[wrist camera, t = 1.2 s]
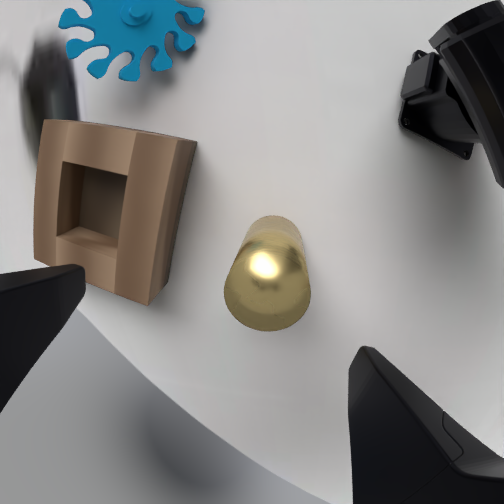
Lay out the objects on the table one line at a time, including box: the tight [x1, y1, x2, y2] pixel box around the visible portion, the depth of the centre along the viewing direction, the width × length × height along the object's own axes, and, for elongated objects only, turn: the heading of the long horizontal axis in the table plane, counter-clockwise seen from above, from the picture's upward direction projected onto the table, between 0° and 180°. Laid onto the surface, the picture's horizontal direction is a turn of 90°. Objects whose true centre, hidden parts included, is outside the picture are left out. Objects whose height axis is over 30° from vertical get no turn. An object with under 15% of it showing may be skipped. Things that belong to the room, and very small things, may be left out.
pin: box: [224, 216, 311, 331], centre depth 17 cm, size 4×4×8 cm
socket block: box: [33, 120, 197, 306], centre depth 19 cm, size 11×11×4 cm
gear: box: [58, 0, 205, 81], centre depth 14 cm, size 11×6×10 cm
